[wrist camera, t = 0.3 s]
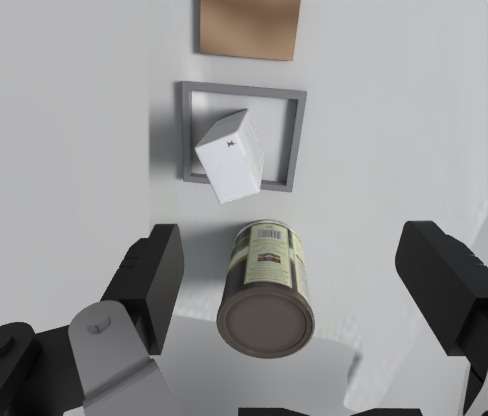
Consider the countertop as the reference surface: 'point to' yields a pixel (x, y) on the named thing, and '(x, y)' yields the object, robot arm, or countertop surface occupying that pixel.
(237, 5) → the walnut board
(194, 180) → the grey flat rectangular frame
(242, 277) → the coffee can
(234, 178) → the skincare box
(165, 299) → the robot arm
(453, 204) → the countertop surface
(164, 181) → the countertop surface
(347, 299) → the countertop surface
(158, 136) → the countertop surface
